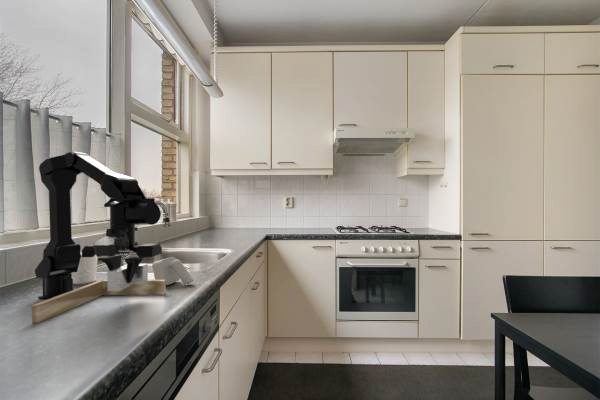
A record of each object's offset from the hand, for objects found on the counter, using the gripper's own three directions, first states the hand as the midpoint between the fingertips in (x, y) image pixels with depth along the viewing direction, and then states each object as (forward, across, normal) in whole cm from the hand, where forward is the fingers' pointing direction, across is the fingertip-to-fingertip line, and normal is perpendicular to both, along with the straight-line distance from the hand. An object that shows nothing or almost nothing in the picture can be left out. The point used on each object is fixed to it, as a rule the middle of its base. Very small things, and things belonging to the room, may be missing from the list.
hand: (123, 282), depth 83 cm
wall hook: (+6, +6, +20) cm, 21 cm away
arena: (+6, -3, 0) cm, 7 cm away
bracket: (+1, +1, +1) cm, 2 cm away
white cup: (+6, -28, +24) cm, 37 cm away
